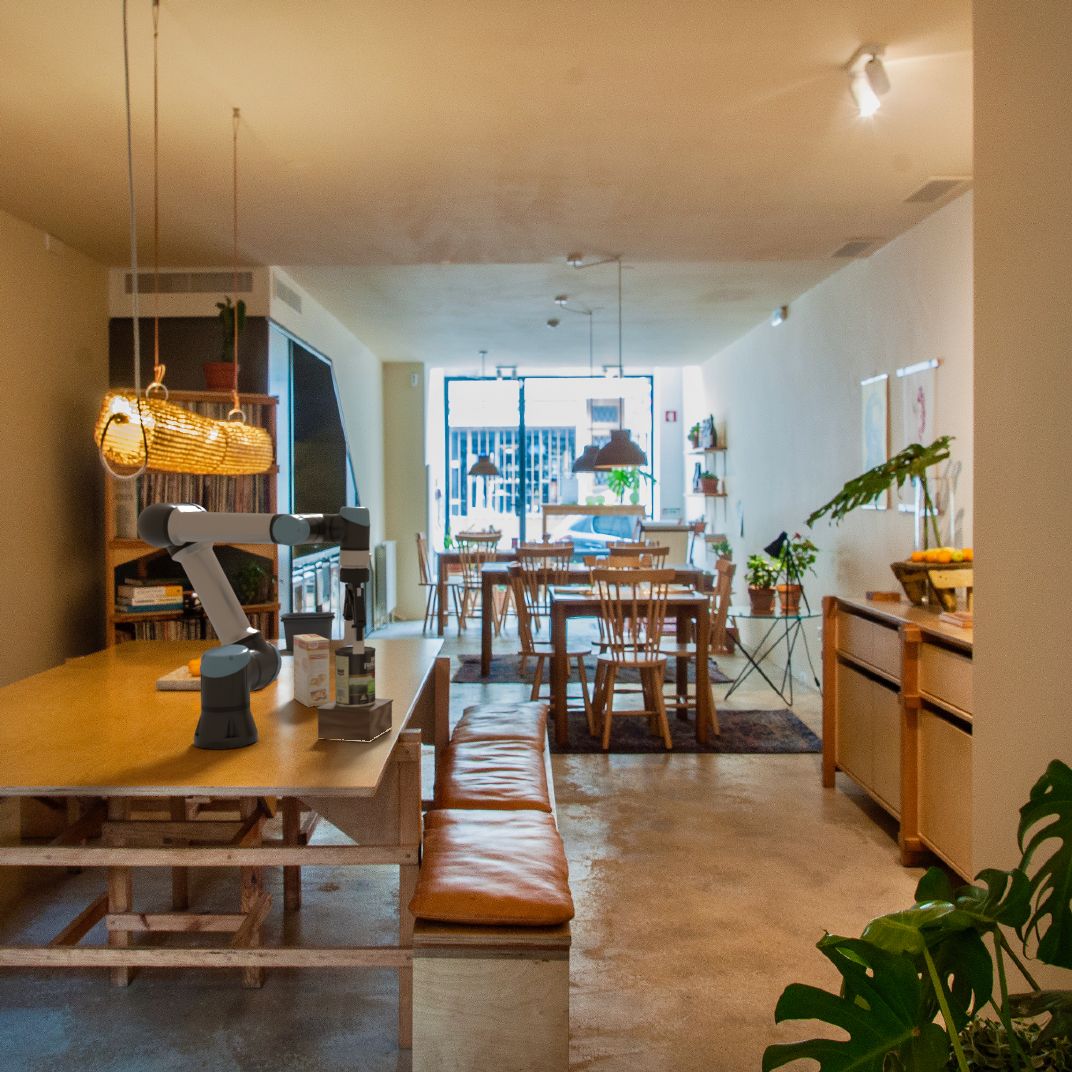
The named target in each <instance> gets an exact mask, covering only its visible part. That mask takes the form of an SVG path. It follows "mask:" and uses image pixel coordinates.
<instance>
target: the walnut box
mask: <svg viewBox="0 0 1072 1072" xmlns="http://www.w3.org/2000/svg"><path fill="white" fill-rule="evenodd" d="M375 701H376V703H375V704H373V705H370V706H366V707H354V708H348V707H340V706H337V705H336V704H335V703H336V699H333V700H332V701H331V700H330V702H329V703H327V704H325V705H322V706H317V707H315V708H316V709H315V710H316V711H317V739H318V738H324V739H341V740H342V739H344V740H361V741H362V740H365V741H370V740H372V739H374V737H376V736H378V735H380V734H381V733H383V732H385V731H386V730H387V729H389V728H391V727H392V728H393V702H394V698H393V699H392V698H391V699H390V698H376V697H375Z"/></svg>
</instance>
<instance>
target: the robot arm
mask: <svg viewBox="0 0 1072 1072" xmlns="http://www.w3.org/2000/svg"><path fill="white" fill-rule="evenodd" d="M136 529H137V534H138V535H139V538H140V539H141V540H142V541H143V542H144V543H146V544H147V545H149V546H151V547H154V548H158V549H163V548H165V549H166V550H167V551H168V554H169V555H170V557H171V560H173V561H174V562H179V563H180V564H181V566H182V568H183V570H184V571H185V573H186V575H187V578H188V580H189V582H190V584H191V585H192V587H193V589H194V591H195V593H196V595H197V597H198V600H199V601H200V603H201V605H202V607H203V610H204V611H205V613H206V615H207V617H208V619H209V622H210V623H211V625H212V627H213V629H214V631H215V633H216V636H217V637H218V640H219V641H220V646H214V647H211V648H209V649H206V650H205V651H204V652H203V653H202V654H201V657H200V664H199V665H200V666H199V672H200V673H199V674H200V675H199V676H200V715H199V718H198V722H197V724H196V728H195V731H194V734H193V745H194V747H196V748H199V747H200V748H199V749H203V748H209V749H208V750H224V749H223V748H230V749H236V748H235V747H238V748H242V747H241V746H243V747H246V745H247V746H249V745H248V744H250V745H252V744H251V743H253V744H255V743H257V741H258V739H259V732H258V731H259V730H258V728H257V724H256V723H255V719H254V717H253V714H252V711H251V692H253V691H255V690H257V689H262V688H263V689H264V688H265V687H267V686H268V685H269V684H271V683H273V681H275V680H276V678H278V677H279V674H280V671H281V670H282V663H283V662H282V656H281V652H280V651H279V649H278V648H277V646H276V645H274V644H273V643H271V642H269V641H268V640H267V641H266V639H265V637H264V635H263V633H262V631H261V630H259V629H256V628H253V627H252V625H251V624H250V621H249V619H248V617H247V615H246V614H245V612H244V610H243V607H242V605H241V603H240V601H239V600H238V597H237V596H236V594H235V592H234V589H233V588H232V585H231V584H230V582H229V579H228V578H227V575H226V574H225V572H224V570H223V568H222V566H221V564H220V562H219V560H218V558H217V556H216V554H215V552H214V550H213V548H214V547H213V546H214V544H215V543H222V544H223V543H224V544H254V545H255V544H256V545H257V544H258V545H259V544H261V545H267V544H268V545H280V546H281V545H283V546H288V547H295V546H299V545H300V546H301V545H312V544H339V560H338V561H339V566H341V567H340V568H339V582H340V583H343V584H345V585H344V587H345V588H344V589H345V591H344V602H343V610H342V616H343V620H344V621H343V624H344V625H343V630H344V631H343V645H344V646H343V647H352V646H353V654H364V646H365V628H366V626H367V617H366V606H365V602H366V601H365V588H364V587H362V585H361V584H362V583H363V584H365V583H369V582H370V568H369V567H368V566H369V565H370V558H372V553H370V548H371V547H370V543H371V541H370V539H371V518H370V510H369V508H367V506H342V507H340V509H339V513H334V514H333V513H313V512H306V513H258V512H257V513H256V512H255V513H254V512H246V513H245V512H221V511H219V512H218V511H215V512H214V511H207V510H206V509H205V508H204V507H202V506H201V505H199V504H196V503H192V502H188V501H185V502H183V501H181V502H157V503H156V502H155V503H153V504H150V505H148V506H146V507H145V508H144V509H143V510H142V511H141V512H140V513H139V516H138V518H137V521H136ZM254 742H255V743H254Z"/></svg>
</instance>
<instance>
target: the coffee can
mask: <svg viewBox="0 0 1072 1072" xmlns="http://www.w3.org/2000/svg"><path fill="white" fill-rule="evenodd" d="M334 653H335V654H334V657H335V659H334V660H335V661H334V662H335V665H334V667H335V670H334V671H335V700H336V703H335V704H336V705H337V706H340V707H348V708H354V707H366V706H370V705H373V704H375V703H376V701H375V698H376V648H375V647H372V646H365V645H364V654H353V645H351V646H343V647H339V648H335V649H334Z"/></svg>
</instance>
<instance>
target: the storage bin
mask: <svg viewBox="0 0 1072 1072" xmlns="http://www.w3.org/2000/svg"><path fill="white" fill-rule="evenodd" d="M335 614H336V612H334V611H333V612H331V611H329V612H328V611H327V612H326V611H325V612H324V611H323V612H322V611H321V612H319V611H317V612H312V611H311V612H288V613H287V612H286V613H283V614H281V615H279V617H280V622H282V623H283V629H284V638H285V639H284V640H285V646H286V650H287V651H294V638H293V636H294V635H304V634H316V635H318V636H321V637H323V638H326V639H329V648H330V647H331V642H332V629H333V620H334V619H336V616H335Z"/></svg>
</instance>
